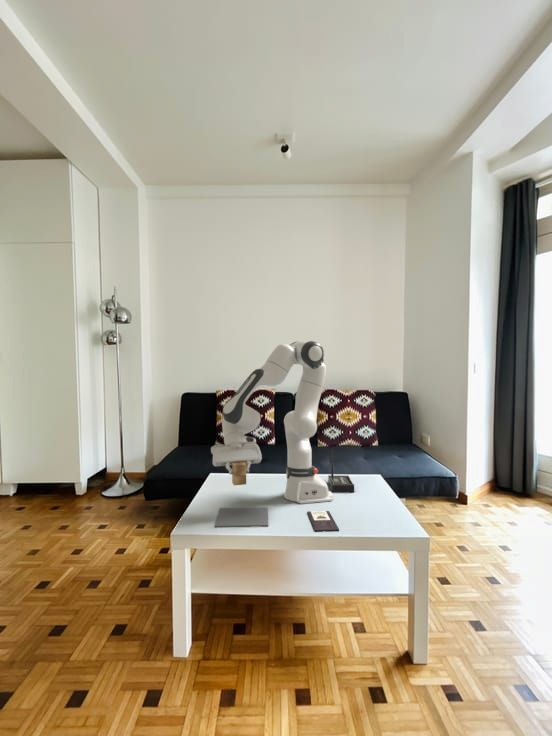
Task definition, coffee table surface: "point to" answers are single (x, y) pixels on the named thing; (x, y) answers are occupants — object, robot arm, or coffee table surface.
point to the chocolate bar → (322, 521)
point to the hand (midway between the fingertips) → (239, 473)
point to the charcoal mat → (242, 517)
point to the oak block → (239, 473)
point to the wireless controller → (339, 481)
